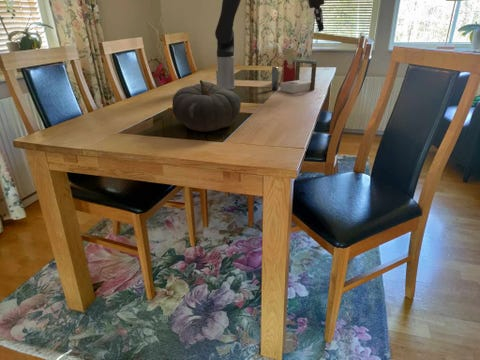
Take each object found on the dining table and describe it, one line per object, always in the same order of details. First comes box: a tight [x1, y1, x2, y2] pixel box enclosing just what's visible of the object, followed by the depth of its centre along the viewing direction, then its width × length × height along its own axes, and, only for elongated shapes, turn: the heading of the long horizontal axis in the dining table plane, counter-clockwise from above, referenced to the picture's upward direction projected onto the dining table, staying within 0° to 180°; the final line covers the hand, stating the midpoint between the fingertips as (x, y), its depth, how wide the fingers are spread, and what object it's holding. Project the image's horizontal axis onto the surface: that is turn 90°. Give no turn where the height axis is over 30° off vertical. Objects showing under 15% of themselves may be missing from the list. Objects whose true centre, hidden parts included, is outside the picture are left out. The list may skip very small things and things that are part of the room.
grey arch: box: [293, 58, 318, 92], centre depth 183 cm, size 4×14×15 cm, turn 36°
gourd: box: [171, 79, 242, 133], centre depth 124 cm, size 25×25×17 cm
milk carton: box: [279, 47, 296, 84], centre depth 199 cm, size 9×9×20 cm
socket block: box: [280, 79, 311, 94], centre depth 183 cm, size 13×10×4 cm
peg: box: [271, 66, 279, 91], centre depth 183 cm, size 3×3×12 cm
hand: (321, 30), depth 173 cm, fingers open, 8 cm apart
